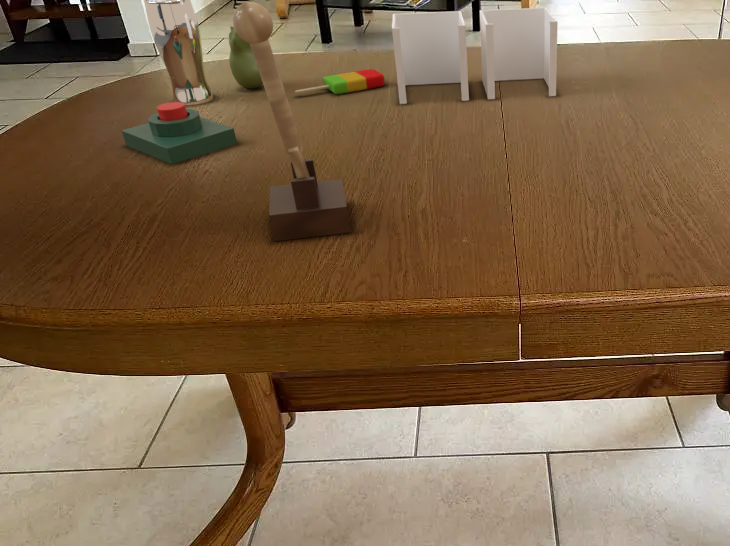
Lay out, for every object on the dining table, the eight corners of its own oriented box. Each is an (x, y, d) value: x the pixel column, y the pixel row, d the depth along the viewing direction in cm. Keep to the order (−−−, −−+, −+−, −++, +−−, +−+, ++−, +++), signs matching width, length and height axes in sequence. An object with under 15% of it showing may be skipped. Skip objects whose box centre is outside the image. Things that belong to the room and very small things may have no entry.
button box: (126, 146, 104) (116, 117, 101) (190, 127, 110) (182, 99, 107) (172, 164, 97) (163, 134, 95) (237, 143, 103) (230, 114, 101)
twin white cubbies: (545, 77, 128) (546, 7, 121) (556, 95, 119) (557, 21, 112) (400, 84, 126) (392, 13, 119) (399, 104, 117) (391, 28, 110)
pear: (259, 81, 129) (246, 18, 123) (275, 87, 126) (263, 23, 120) (230, 88, 126) (215, 24, 120) (246, 94, 123) (231, 29, 117)
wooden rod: (225, 10, 67) (265, 2, 67) (228, 2, 70) (266, -5, 70) (289, 194, 78) (323, 187, 79) (289, 182, 81) (321, 174, 81)
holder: (274, 241, 79) (262, 187, 75) (275, 211, 85) (264, 160, 81) (350, 232, 80) (342, 179, 76) (346, 203, 86) (338, 152, 83)
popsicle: (387, 86, 125) (386, 74, 124) (301, 101, 119) (299, 89, 118) (374, 79, 129) (373, 67, 128) (290, 93, 123) (288, 81, 122)
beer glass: (194, 92, 124) (167, -8, 115) (225, 96, 122) (200, -5, 113) (162, 103, 119) (131, 0, 110) (194, 108, 117) (165, 3, 108)
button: (155, 119, 101) (151, 106, 100) (179, 113, 103) (175, 100, 102) (169, 124, 99) (165, 111, 98) (193, 117, 101) (189, 104, 100)
